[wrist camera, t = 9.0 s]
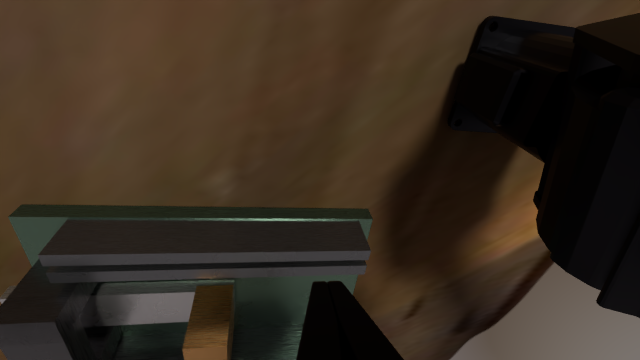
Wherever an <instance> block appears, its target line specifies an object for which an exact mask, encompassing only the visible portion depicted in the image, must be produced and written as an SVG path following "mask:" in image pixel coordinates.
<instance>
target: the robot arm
mask: <svg viewBox="0 0 640 360" xmlns="http://www.w3.org/2000/svg"><path fill="white" fill-rule="evenodd" d="M492 22H493V23H494V25H493V28H492V29H491V30H489V26H490V24H491V23H492ZM457 119H459V121H458V123H456V124H454V123H455V121H456V120H457ZM448 126H449V127H451V128H452V129H453V130H460V131H476V132H491V133H499V134H501V135H502V136H504V137H505V138H507V139H508V140H510V141H511V142H513V143H514V144H516V145H517V146H519V147H521V148H522V149H524V150H525V151H527V152H528V153H530V154H531V155H533V156H534V157H536V158H537V159H539V160H541V161H542V162H544V163H545V164H544V168H543V172H542V176H541V180H540V184H539V188H538V191H536V192H535V195H534V199H533V202H534V204H535V205H536V207H537V209H538V214H537V218H536V222H537V230H538V234H539V236H540V237H541V239H542V240H543V242H544V243H545V245H546V246H547V248H548V249H549V250H550V251H551V252H550V258H551V259H552V260H553V261H554V262H555V263H556V264H557V265H559V266H560V267H561V268H562V269H564V270H565V271H566V272H567V273H569V274H571V275H572V276H574V277H576V278H577V279H579V280H581V281H582V282H584V283H586V284H588V285H590V286H592V287H594V288H596V289H598V290H601V292H600V294H599V296H598V298H597V300H596V301H597V303H598V304H599V306H601V307H603V308H607V309H611V310H614V311H618V312H622V313H625V314H629V315H633V316H637V317H639V318H640V13H637V14H633V15H628V16H624V17H619V18H614V19H610V20H605V21H601V22H596V23H592V24H587V25H583V26H578V27H576V28H573V27H566V26H560V25H553V24H546V23H539V22H532V21H525V20H518V19H511V18H504V17H497V16H489V17H487V18H486V19H485V20H484V21H483V22H482V24H481V27H480V29H479V32H478V35H477V38H476V41H475V44H474V47H473V50H472V52H471V55H470V56H469V58H468V60H467V63H466V66H465V69H464V72H463V75H462V78H461V80H460V83H459V86H458V89H457V92H456V95H455V101H454V104H453V107H452V110H451V113H450V116H449V118H448ZM296 360H404V359H403V358H402V357H401V355H400V354H399V353H398V352H397V350H396V349H395V348H394V347H393V345H392V344H391V343H390V342H389V340H388V339H387V338H386V337H385V335H384V334H383V333H382V331H381V330H380V329H379V328H378V326H377V325H376V324H375V323H374V321H373V320H372V319H371V318H370V316H369V315H368V314H367V313H366V311H365V310H364V309H363V308H362V306H361V305H360V304H359V303H358V301H357V300H356V299H355V297H354V296H353V295H352V294H351V292H350V291H349V290H348V289H347V287H346V286H345V285H344V284H343V282H341V281H328V282H325V281H314V282H313V283H312V286H311V291H310V296H309V301H308V305H307V310H306V315H305V319H304V324H303V329H302V333H301V338H300V343H299V348H298V352H297V357H296Z"/></svg>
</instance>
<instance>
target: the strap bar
mask: <svg viewBox="0 0 640 360" xmlns="http://www.w3.org/2000/svg"><path fill="white" fill-rule="evenodd" d="M15 287H16V286H9V288H8V289H7V290H6V291H5V292H4V294H3V295H2V296H1V297H0V302H1V303H3V302H4V301H5V300H6V298H7V297H8V296H9V295H10V294H11V292H12V291H13V290H14V289H15ZM234 314H235V281H234V279H233V280H198V281H164V282H130V283H97V285H96V286H95V288H94V290H93V292H92V294H91V295H90V297H89V299H88V301H87V303H86V304H85V306H84V308H83V310H82V312H81V313H80V315H79V318H80V320H81V323H82V325H83V327H96V326H115V325H134V324H153V323H172V322H188V326H187V331H186V335H185V340H184V344H183V349H182V350H183V356H184V360H231V353H232V342H233V331H234Z"/></svg>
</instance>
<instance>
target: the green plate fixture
mask: <svg viewBox="0 0 640 360" xmlns="http://www.w3.org/2000/svg"><path fill="white" fill-rule="evenodd" d="M9 220H10V222H11V224H12V226H13V228H14V230H15V232H16V234H17V236H18V238H19V240H20V243H21V245H22V247H23V249H24V251H25V253H26V255H27V257H28V259H29V261H30V263H31V265H32V268H31V269H30V270H29V271H28V273H27V274H26V275H25V276H24V278H23V279H22V280H21V281H20V282H19V284H18V285H17V286H16V287H15V289H14V290H13V291H12V292H11V294H10V295H9V296H8V297H7V298H6V300H5V301H4V302H3V303H2V305H1V306H0V349H1V350H2V352H3V353H4V355H5V356H6V358H7V359H8V360H184V356H183V350H182V349H183V344H184V340H185V335H186V331H187V326H188V322H172V323H153V324H134V325H115V326H96V327H83V325H82V323H81V320H80V318H79V315H80V313H81V312H82V310H83V308H84V306H85V304H86V303H87V301H88V299H89V297H90V295H91V294H92V292H93V290H94V288H95V286H96V285H97V283H130V282H164V281H198V280H233V279H234V281H235V314H234V331H233V342H232V353H231V360H296V357H297V352H298V348H299V343H300V338H301V333H302V329H303V324H304V319H305V315H306V310H307V305H308V301H309V296H310V291H311V286H312V283H313V282H314V281H325V282H328V281H341V282H343V284H344V285H345V286H346V287H347V289H348V290H349V291H350V292H351V294H352V295H353V292H354V288H355V284H356V280H357V277H358V274H364V273H365V270H366V266H367V265H366V262H365V260H368V259H369V256H370V252H371V250H370V247H369V245H368V242H367V239H368V235H369V231H370V227H371V224H372V220H373V219H372V216H371V214H370V212H369V210H368V209H336V208H256V207H176V206H96V205H21V206H20V207H18V208H17V209H16V210H15V211H14V212H13V213H12V214H11V215H10V216H9Z"/></svg>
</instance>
